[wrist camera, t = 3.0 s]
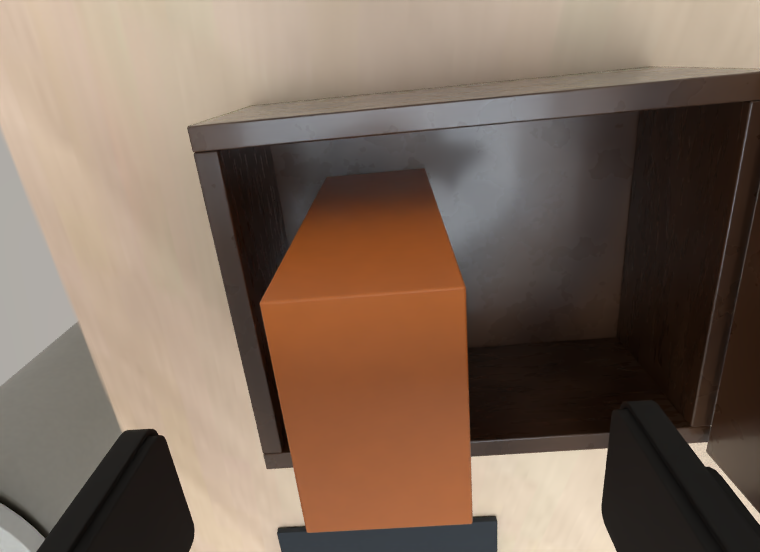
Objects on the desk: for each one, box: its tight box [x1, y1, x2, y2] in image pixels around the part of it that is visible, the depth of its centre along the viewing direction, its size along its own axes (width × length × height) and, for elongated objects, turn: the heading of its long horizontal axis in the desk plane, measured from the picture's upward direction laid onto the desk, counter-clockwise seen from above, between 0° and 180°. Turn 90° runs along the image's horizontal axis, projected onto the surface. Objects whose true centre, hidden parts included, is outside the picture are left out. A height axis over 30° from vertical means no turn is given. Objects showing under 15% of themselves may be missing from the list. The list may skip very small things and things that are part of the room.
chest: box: [187, 67, 760, 469], centre depth 21 cm, size 18×14×8 cm
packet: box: [260, 168, 473, 533], centre depth 18 cm, size 4×7×13 cm, turn 5°
